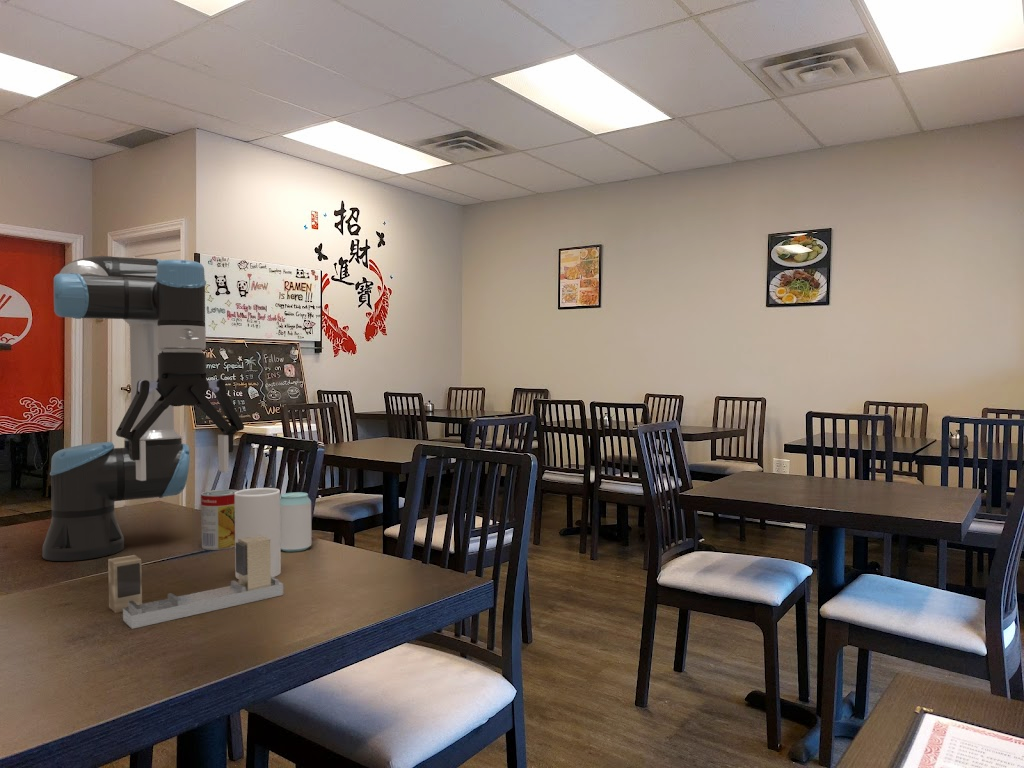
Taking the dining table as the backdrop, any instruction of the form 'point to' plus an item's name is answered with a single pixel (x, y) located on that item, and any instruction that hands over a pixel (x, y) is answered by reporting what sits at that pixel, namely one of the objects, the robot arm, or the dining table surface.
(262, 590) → the rail
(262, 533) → the cup
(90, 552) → the robot arm
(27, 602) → the dining table surface
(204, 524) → the canned food
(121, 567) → the block
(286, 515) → the can
